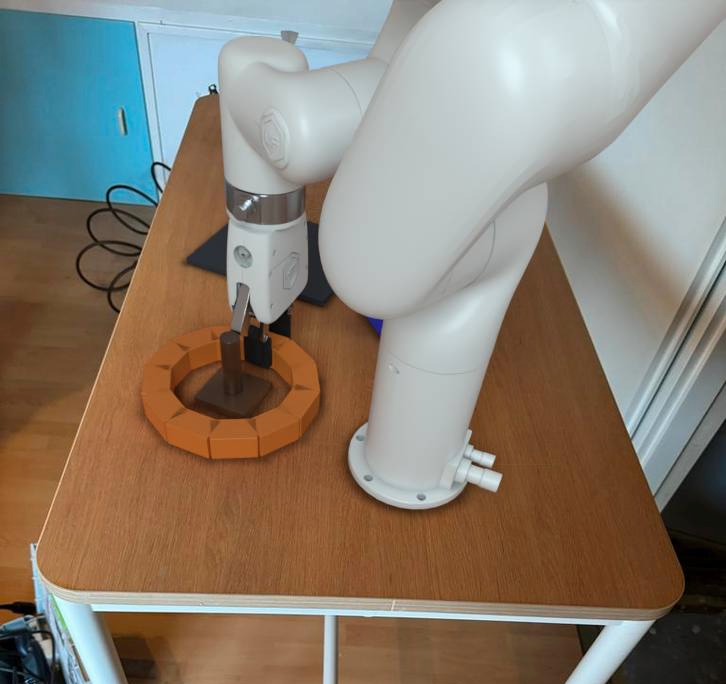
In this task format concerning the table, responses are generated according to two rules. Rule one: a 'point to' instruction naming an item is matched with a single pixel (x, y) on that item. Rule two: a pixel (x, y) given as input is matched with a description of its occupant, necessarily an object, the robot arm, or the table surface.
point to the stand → (232, 384)
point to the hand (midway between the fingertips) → (267, 350)
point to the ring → (228, 433)
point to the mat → (317, 285)
